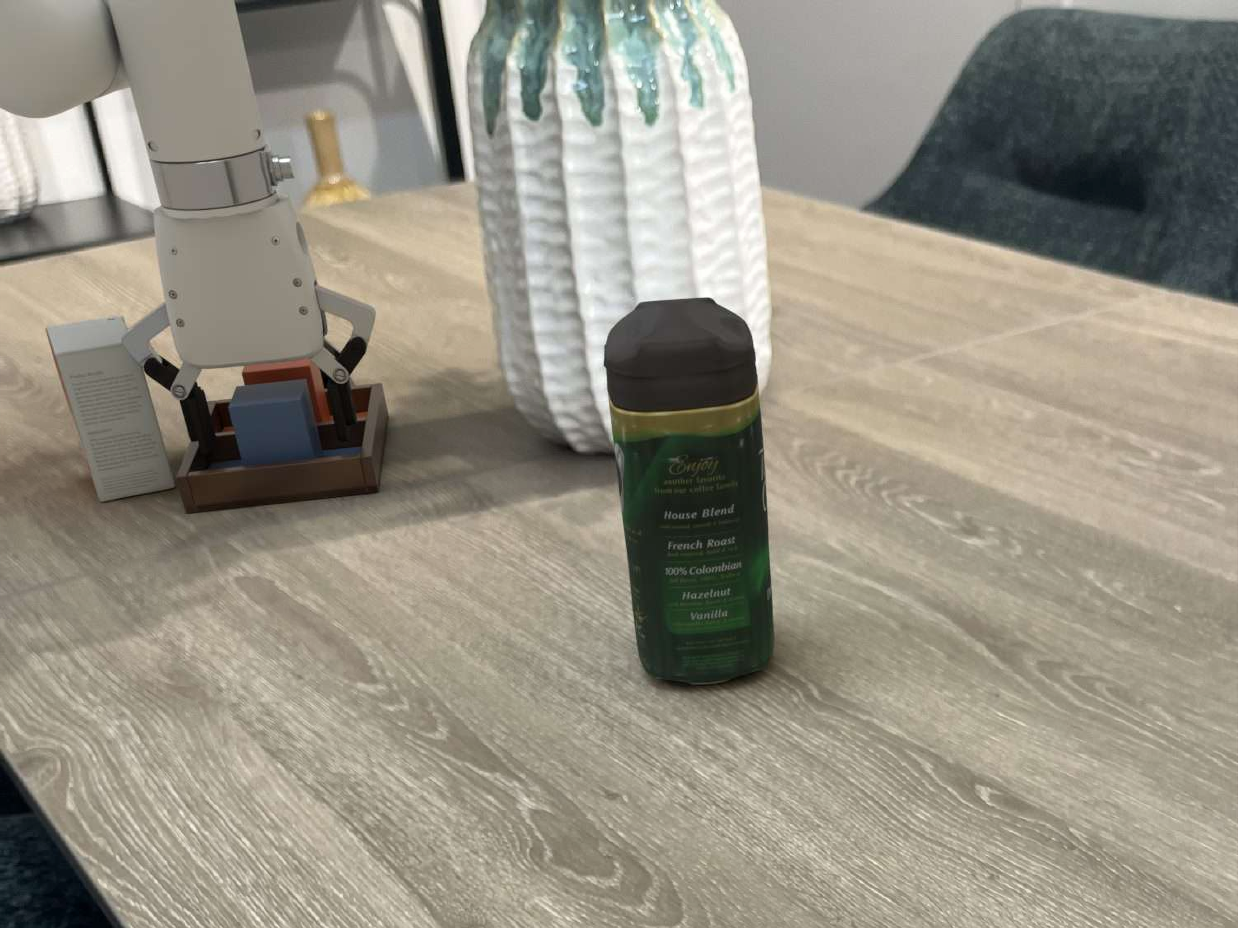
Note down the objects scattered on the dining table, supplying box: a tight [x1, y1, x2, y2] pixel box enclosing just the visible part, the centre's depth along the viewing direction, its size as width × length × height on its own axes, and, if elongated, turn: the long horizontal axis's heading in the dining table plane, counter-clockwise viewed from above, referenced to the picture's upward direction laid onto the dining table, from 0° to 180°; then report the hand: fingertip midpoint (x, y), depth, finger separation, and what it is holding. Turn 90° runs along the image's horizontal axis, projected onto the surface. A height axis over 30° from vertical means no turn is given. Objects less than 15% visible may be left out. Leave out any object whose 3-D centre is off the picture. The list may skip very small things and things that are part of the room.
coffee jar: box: [603, 296, 775, 685], centre depth 92 cm, size 10×8×19 cm
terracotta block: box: [241, 358, 331, 422], centre depth 130 cm, size 5×5×6 cm
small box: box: [44, 315, 176, 503], centre depth 124 cm, size 8×6×10 cm
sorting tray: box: [175, 382, 389, 514], centre depth 128 cm, size 14×18×3 cm
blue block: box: [228, 379, 323, 466], centre depth 123 cm, size 5×5×6 cm
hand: (277, 442), depth 124 cm, fingers open, 9 cm apart
